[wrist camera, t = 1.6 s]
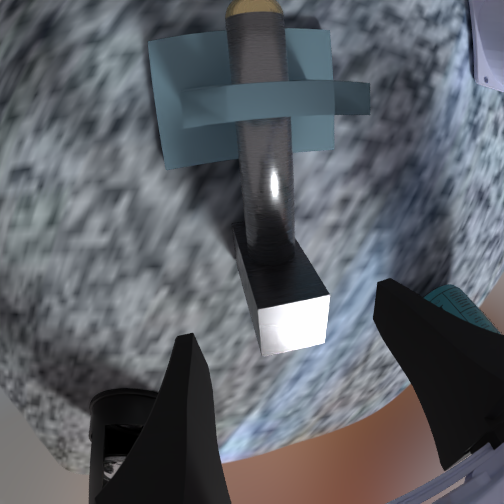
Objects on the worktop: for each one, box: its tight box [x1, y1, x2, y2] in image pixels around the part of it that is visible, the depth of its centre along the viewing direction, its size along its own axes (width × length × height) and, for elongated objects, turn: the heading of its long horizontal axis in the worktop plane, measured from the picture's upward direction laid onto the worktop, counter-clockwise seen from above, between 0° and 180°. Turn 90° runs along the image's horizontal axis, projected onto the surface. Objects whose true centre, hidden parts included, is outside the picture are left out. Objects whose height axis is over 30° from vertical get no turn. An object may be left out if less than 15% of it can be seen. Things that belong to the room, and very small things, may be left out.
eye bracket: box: [148, 28, 370, 170], centre depth 10 cm, size 6×8×6 cm
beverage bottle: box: [424, 285, 500, 334], centre depth 15 cm, size 6×7×20 cm
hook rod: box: [225, 0, 330, 357], centre depth 11 cm, size 13×3×7 cm, turn 4°
